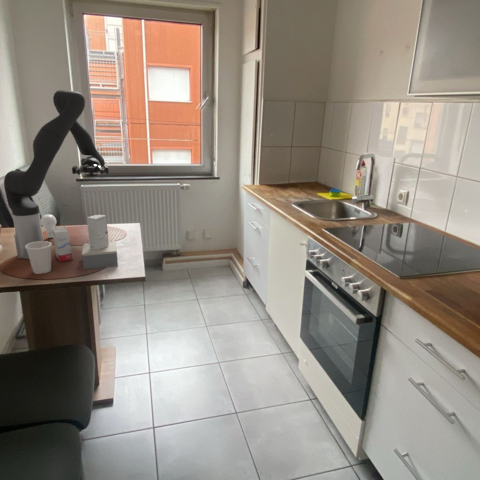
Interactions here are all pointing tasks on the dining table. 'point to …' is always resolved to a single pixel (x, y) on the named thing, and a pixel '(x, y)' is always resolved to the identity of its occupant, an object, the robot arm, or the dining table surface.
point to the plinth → (99, 256)
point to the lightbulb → (48, 224)
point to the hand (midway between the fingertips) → (90, 172)
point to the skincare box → (97, 231)
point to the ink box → (62, 243)
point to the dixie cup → (40, 256)
